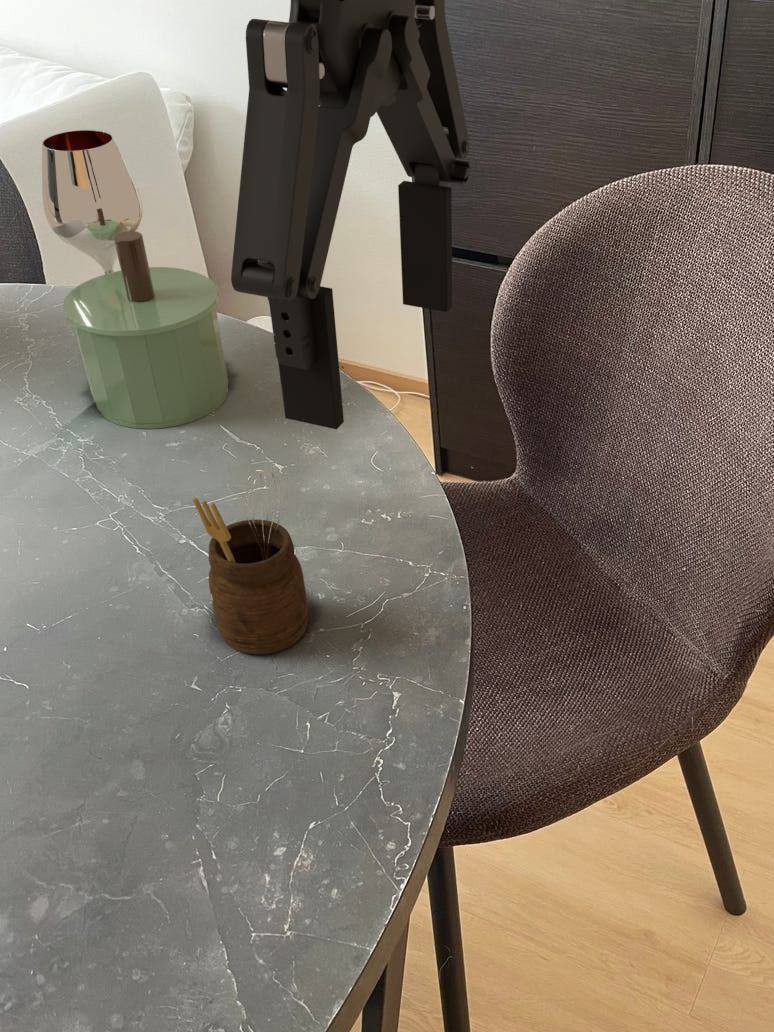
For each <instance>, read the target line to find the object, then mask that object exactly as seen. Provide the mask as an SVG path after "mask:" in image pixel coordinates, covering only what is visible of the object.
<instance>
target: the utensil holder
mask: <svg viewBox="0 0 774 1032" xmlns="http://www.w3.org/2000/svg"><path fill="white" fill-rule="evenodd" d="M257 473H258V475H257V476H256V478H255V479H254V482H253V485H252V491H251V506H250V479H251V477H252V476H254V475H255V474H257ZM262 473H263V478H264V484H265V492H266V493H265V497H266V498H265V499H266V500H265V501H268V487H267V479H266V474H267V475H269V476H270V477H271V478H272V479H273V487H274V489H273V490H276V487H277V490H278V491H277V492H278V509H279V510H278V519H277V522H274V516H275V511H276V503H274V505H273V506H274V507H273V514H272V518H271V519H272V520H269V519H268V510H266V519H264V518H263V516H261V519H255V518H254V490H255V489H254V487H255V485H256V482H257V479H258V477H260V478H259V483H260V484H259V485H260V489H259V490H260V491H262ZM275 476H276V477H277V479H278V480H279V482H280V485H281V495H280V488H279V485H278V483H277V480H276V478H275ZM246 487H247V501H248V502H247V503H248V510H249V514H250V517H251V519H249V517H248V514H247V508H246V506H244V512H245V516H246V519H245V520H240V521H237V522H233V523H230V524H228V525H226V523H225V520H224V518H223V517H222V515H221V513H220V511H219V509H218V507H217V505H216V504H215V503H214V502H211V503H210V505H209V504H208V502H207V501H206V500H204V499H202V501H201V502H200V501H199V499H198V498H197V497H196V496H195V497H193V498H192V501H193V503H194V506H195V508H196V510H197V512H198V515H199V517H200V519H201V522H202V524H203V526H204V528H205V531H206V532H207V534H208V535H209V536H210V537H211V539H210V541H209V544H208V562H209V566H210V568H209V572H208V588H209V594H210V599H211V604H212V608H213V613H214V617H215V621H216V622H215V623H216V625H217V629H218V631H219V634H220V636H221V638H222V640H223V641H224V642H225V643H226V644H227V645H228V646H229V647H230V648H232V649H233V650H236V651H238V652H241V653H244V654H249V655H269V654H273V653H274V654H275V653H278V652H281V651H283V650H285V649H288V648H289V647H291V646H292V645H294V644H295V643H297V642H298V641H299V640H300V639H301V638H302V636H303V635H304V634H305V632H306V629H307V627H308V623H309V608H308V607H309V606H308V600H307V593H306V584H305V577H304V573H303V569H302V566H301V563H300V560H299V558H298V557H297V555H296V554H295V552H296V551H295V545H294V542H293V539H292V537H291V535H290V533H289V531H288V530H287V529H286V528H285V527H284V526H282V525H281V524H280V521H281V519H282V518H281V517H282V515H283V510H284V488H283V487H284V486H283V482H282V481H281V479H280V477H279V476H278V475H277V474H276V473H274V472H273V471H271V470H270V469H262V468H261V469H257V470H256V469H255V470H254V471H252V473H251V474H250V475H249V477H248V478H247V480H246V482H245V485H244V490H246ZM281 496H282V497H281ZM280 497H281V498H282V500H281V498H280ZM281 501H282V502H281ZM244 502H246V495H244ZM281 503H282V505H281ZM201 504H202V505H201ZM262 505H263V504H262V499H260V512H261V513H260V514H261V515H263V506H262ZM251 510H252V511H251Z"/></svg>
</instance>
